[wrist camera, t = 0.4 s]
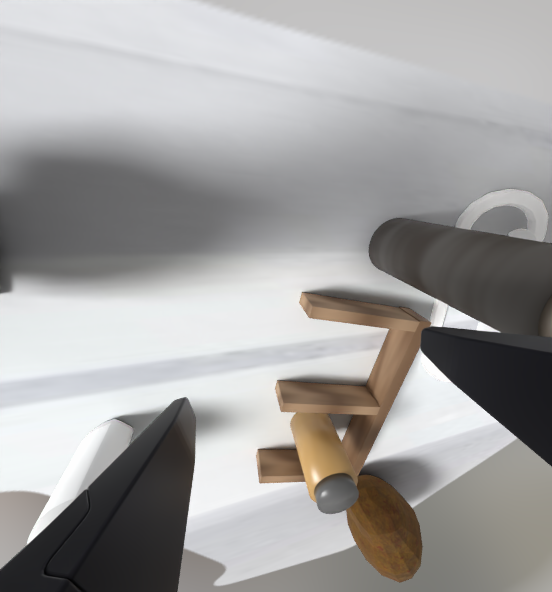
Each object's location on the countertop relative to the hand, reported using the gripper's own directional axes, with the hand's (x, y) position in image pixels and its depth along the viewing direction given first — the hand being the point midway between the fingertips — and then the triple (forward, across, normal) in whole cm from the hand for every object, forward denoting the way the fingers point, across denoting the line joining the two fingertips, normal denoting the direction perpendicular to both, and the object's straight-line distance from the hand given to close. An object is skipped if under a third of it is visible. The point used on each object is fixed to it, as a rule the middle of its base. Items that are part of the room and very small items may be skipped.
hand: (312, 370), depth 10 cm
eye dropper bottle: (+14, -17, -13) cm, 26 cm away
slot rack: (+13, +4, -14) cm, 19 cm away
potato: (+13, +8, -34) cm, 37 cm away
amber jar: (+13, +2, -18) cm, 22 cm away
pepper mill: (+13, +12, -1) cm, 17 cm away
